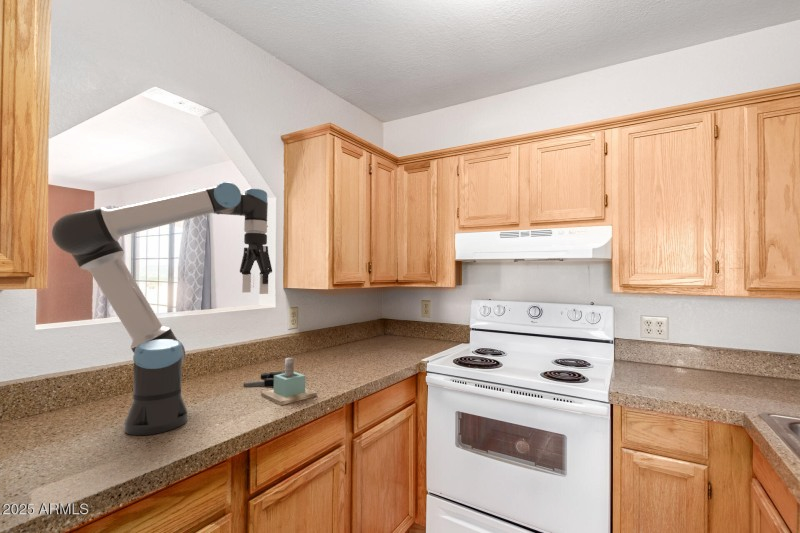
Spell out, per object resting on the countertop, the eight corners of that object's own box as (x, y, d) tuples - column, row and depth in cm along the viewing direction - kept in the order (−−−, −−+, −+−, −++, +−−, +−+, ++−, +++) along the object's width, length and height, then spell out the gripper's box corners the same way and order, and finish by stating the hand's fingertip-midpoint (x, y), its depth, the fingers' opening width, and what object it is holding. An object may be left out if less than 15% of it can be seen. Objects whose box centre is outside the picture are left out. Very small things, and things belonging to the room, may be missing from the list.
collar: (284, 397, 129) (285, 379, 129) (273, 392, 134) (273, 375, 134) (305, 392, 134) (305, 375, 135) (293, 387, 140) (293, 371, 140)
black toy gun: (239, 385, 139) (283, 381, 141) (252, 372, 159) (291, 368, 161) (239, 394, 139) (284, 390, 141) (253, 380, 159) (292, 376, 161)
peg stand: (280, 405, 124) (281, 365, 125) (261, 395, 134) (261, 358, 134) (316, 395, 134) (317, 358, 135) (296, 387, 144) (296, 353, 144)
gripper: (283, 231, 127) (282, 294, 127) (250, 236, 145) (249, 291, 144) (262, 229, 122) (260, 294, 121) (230, 234, 139) (229, 292, 139)
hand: (254, 293), depth 133 cm, fingers open, 13 cm apart
